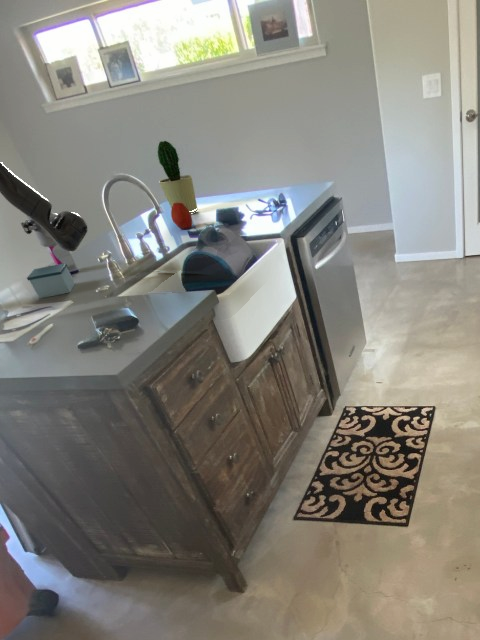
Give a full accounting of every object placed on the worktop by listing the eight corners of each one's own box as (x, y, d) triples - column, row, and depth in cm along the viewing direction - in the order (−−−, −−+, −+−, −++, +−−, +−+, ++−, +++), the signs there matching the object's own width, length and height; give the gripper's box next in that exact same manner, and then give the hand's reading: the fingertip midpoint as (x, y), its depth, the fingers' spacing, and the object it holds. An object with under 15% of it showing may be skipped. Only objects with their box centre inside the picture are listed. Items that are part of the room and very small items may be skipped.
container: (38, 299, 173) (26, 277, 169) (45, 289, 181) (34, 269, 177) (70, 292, 175) (60, 271, 170) (76, 283, 182) (66, 262, 178)
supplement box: (75, 268, 198) (59, 236, 190) (79, 271, 194) (63, 238, 186) (59, 273, 195) (43, 240, 188) (63, 276, 192) (46, 242, 184)
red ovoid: (172, 231, 228) (162, 203, 221) (184, 225, 233) (175, 198, 226) (186, 231, 225) (176, 203, 218) (198, 225, 230) (189, 198, 223)
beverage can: (43, 244, 176) (23, 205, 168) (63, 240, 178) (44, 201, 170) (41, 248, 172) (20, 208, 164) (61, 244, 173) (41, 204, 165)
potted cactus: (172, 219, 247) (146, 143, 227) (169, 214, 258) (144, 141, 238) (204, 212, 250) (181, 137, 230) (199, 207, 261) (177, 135, 241)
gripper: (70, 206, 162) (54, 203, 172) (22, 218, 156) (9, 214, 166) (82, 233, 167) (66, 228, 177) (36, 245, 161) (22, 239, 171)
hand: (38, 221), depth 171 cm, fingers closed on beverage can, 6 cm apart
